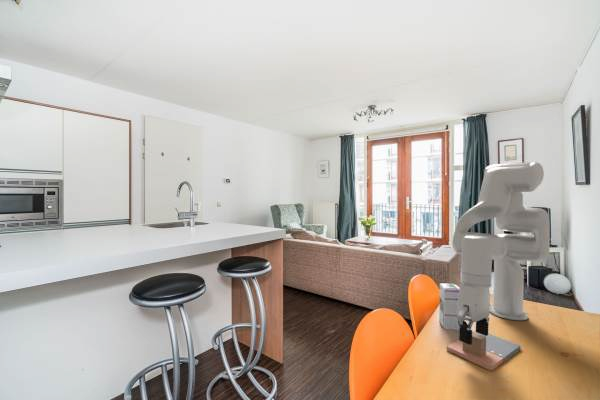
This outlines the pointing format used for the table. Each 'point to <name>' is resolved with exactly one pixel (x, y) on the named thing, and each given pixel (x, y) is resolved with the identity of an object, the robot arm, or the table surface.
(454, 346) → the pink slab with block
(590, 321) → the table surface
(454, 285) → the syrup box
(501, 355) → the grey dotted square slab
